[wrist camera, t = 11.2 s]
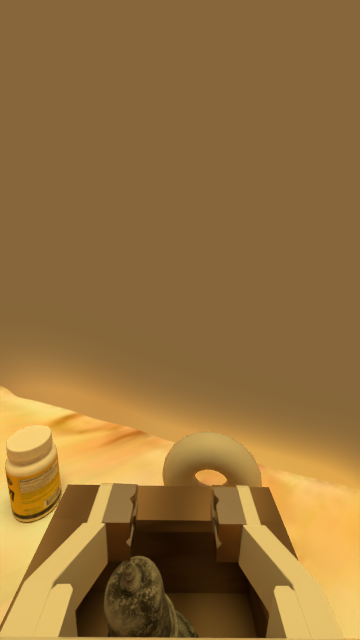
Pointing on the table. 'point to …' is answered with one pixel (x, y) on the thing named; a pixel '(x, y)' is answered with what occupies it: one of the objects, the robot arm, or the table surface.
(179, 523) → the box
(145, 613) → the salt shaker
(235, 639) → the robot arm
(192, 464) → the donut
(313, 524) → the table surface
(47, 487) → the supplement bottle
